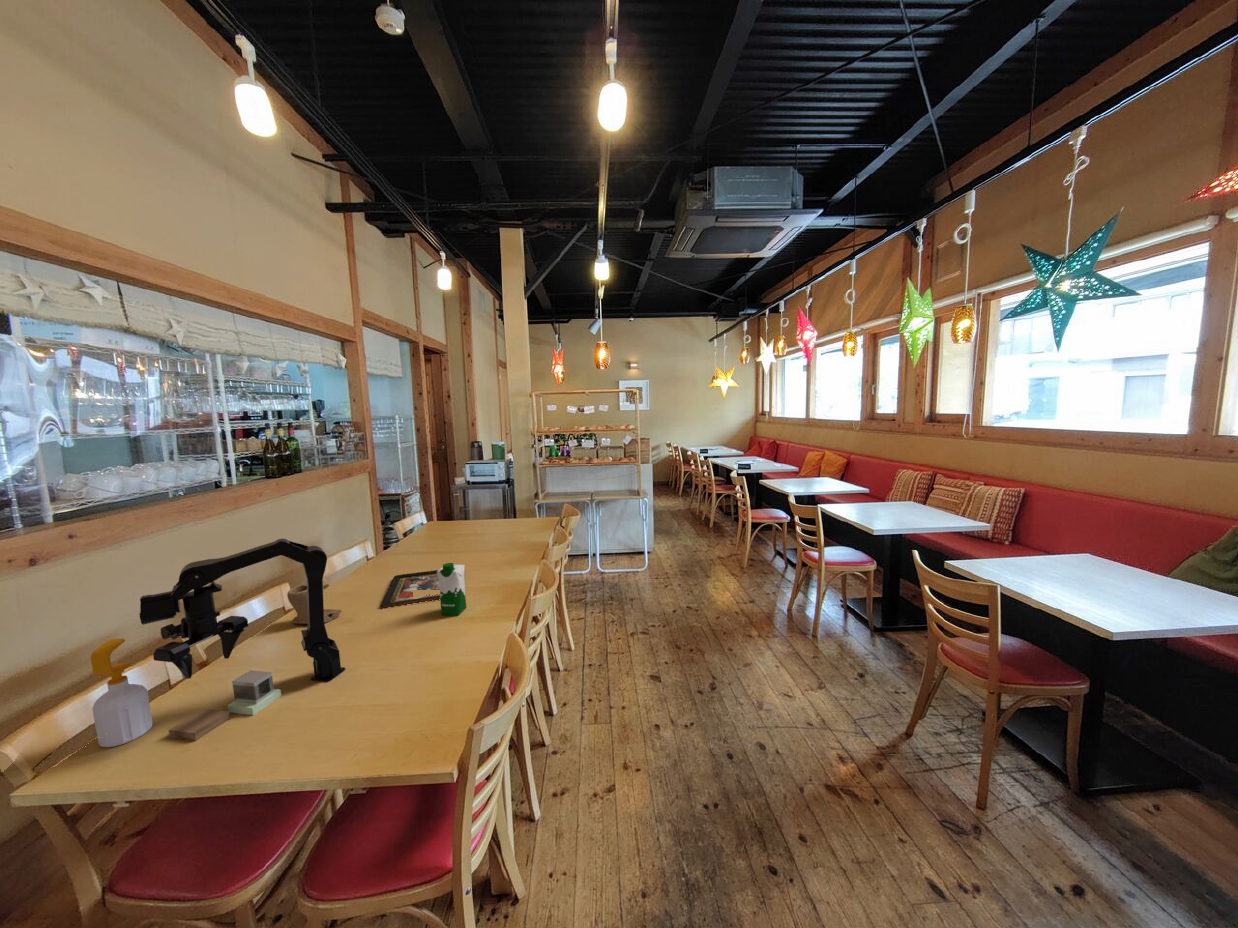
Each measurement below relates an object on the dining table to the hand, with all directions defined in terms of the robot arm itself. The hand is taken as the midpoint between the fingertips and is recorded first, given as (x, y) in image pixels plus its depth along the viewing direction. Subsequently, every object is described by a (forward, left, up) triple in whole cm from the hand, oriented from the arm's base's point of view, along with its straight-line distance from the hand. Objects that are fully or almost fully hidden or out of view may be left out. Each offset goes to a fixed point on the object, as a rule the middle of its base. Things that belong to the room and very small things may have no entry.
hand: (208, 667), depth 117 cm
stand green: (-7, -5, -13) cm, 16 cm away
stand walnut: (-2, +5, -13) cm, 14 cm away
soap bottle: (+14, +10, -13) cm, 22 cm away
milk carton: (-31, -65, -13) cm, 73 cm away
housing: (-7, -5, -11) cm, 14 cm away
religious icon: (-5, -86, -14) cm, 87 cm away
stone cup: (+19, -50, -13) cm, 55 cm away
